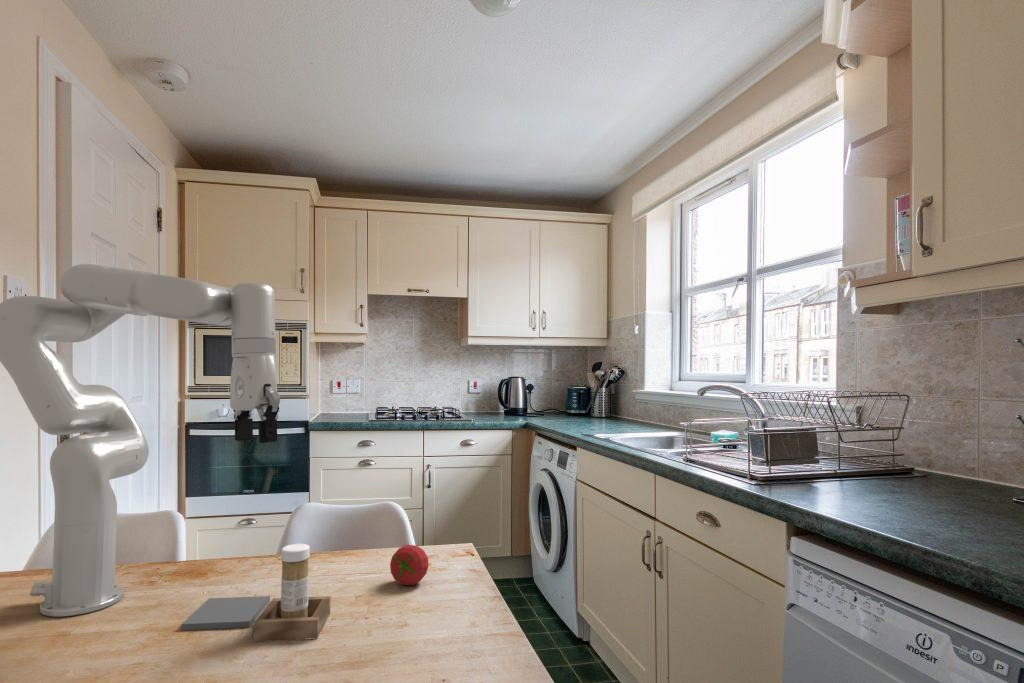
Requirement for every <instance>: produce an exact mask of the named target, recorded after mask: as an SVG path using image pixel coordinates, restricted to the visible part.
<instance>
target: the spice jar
mask: <svg viewBox="0 0 1024 683" xmlns="http://www.w3.org/2000/svg"><path fill="white" fill-rule="evenodd" d="M310 549H311V548H310V545H309V544H305V543H293V544H287V545H286V546H284V547H282V548H281V553H280V559H281V564H282V565H281V582H280V583H281V589H280V592H281V593H280V598H281V618H303V617H307V615H308V597H309V591H310V590H309V585H310V584H309V581H310V576H309V559H310Z"/></svg>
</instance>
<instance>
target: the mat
mask: <svg viewBox="0 0 1024 683" xmlns="http://www.w3.org/2000/svg"><path fill="white" fill-rule="evenodd" d="M270 602H271V595H266V596H265V595H264V596H240V597H239V596H238V597H234V596H233V597H216V598H215V597H212V598H210V597H209V598H208V599H207V600H206V601H204V602H203V604H201V605H200V606H199V607H198V608H197V609H195V611H194V612H193V613H191V614H190V616H189V617H188V618H187V619H185V620H184V621H183V622H182V623H181V628H180V630H181V631H191V630H192V631H193V630H194V631H195V630H213V629H214V630H215V629H217V630H218V629H220V630H221V629H239V628H241V629H242V628H250V627H251V626H252V625H253V624H254V622H255V621H256V620H257V618H258V617H259V616H260V615H259V614H261V613H262V612H263V611H264V609H265V608H266V607H267V606H268V604H269V603H270ZM255 619H256V620H255Z"/></svg>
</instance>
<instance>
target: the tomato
mask: <svg viewBox="0 0 1024 683" xmlns="http://www.w3.org/2000/svg"><path fill="white" fill-rule="evenodd" d="M389 564H390V565H389V567H390V574H391V575H392V578H393V579H394V580H395V581H396V582H397V583H399V584H400V585H403V586H410V585H411V586H414V585H416V584H418V583H419V582H421V581H422V580H423V578H425V576H426V575H427V573H428V569H429V567H430V564H429V557H428V555H427V553H426V552H425V550H424V549H423V548H421V547H419V546H418V545H416V544H415V545H414V544H406V545H403V546H401V547H399V548H398V549H397V550H396V551H395V552H394V553H393V555H392V557H391V560H390V563H389Z"/></svg>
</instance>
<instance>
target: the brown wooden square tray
mask: <svg viewBox="0 0 1024 683" xmlns="http://www.w3.org/2000/svg"><path fill="white" fill-rule="evenodd" d="M331 602H332V601H331V595H327V596H323V595H322V596H308V615H307V617H303V618H281V597H273V598H272V599H270V602H269V603H268V604H267V606H266V607H265V608H264V609H263V611H262V612H261V613H260V615H259V616H258V617H257V618H256V620H255V621H254V622H253V642H254V643H256V642H275V641H276V642H278V641H277V640H279V641H292V640H291V639H301V640H309V639H308V638H317V639H319V636H320V635H321V633H320V632H322V630H323V629H324V627H325V625H326V622H327V621H328V619H329V616H330V615H331ZM308 616H312V617H308ZM319 634H320V635H319ZM306 638H307V639H306ZM289 639H290V640H289ZM255 641H256V642H255Z"/></svg>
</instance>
